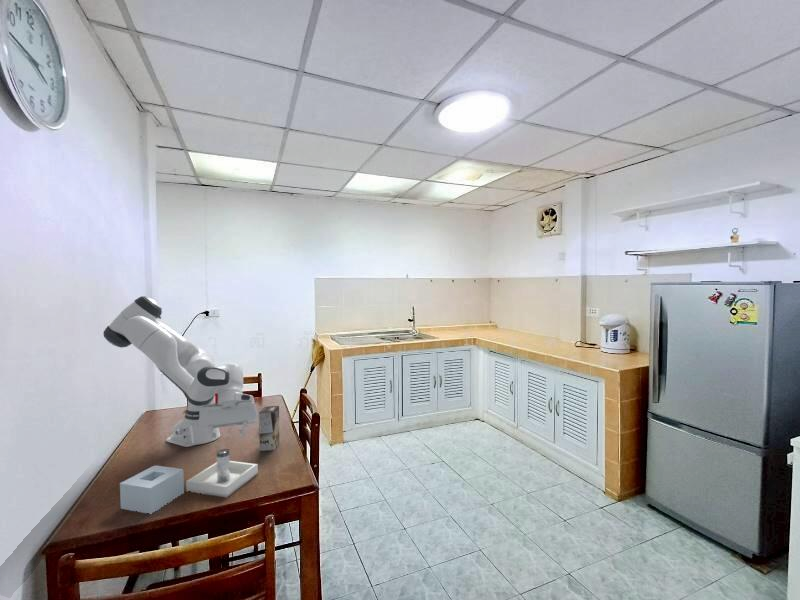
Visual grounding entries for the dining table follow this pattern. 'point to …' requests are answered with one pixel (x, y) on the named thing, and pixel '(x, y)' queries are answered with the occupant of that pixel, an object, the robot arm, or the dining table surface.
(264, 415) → the coffee box
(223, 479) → the steel pin
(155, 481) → the socket block
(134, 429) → the dining table surface
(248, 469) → the tray
